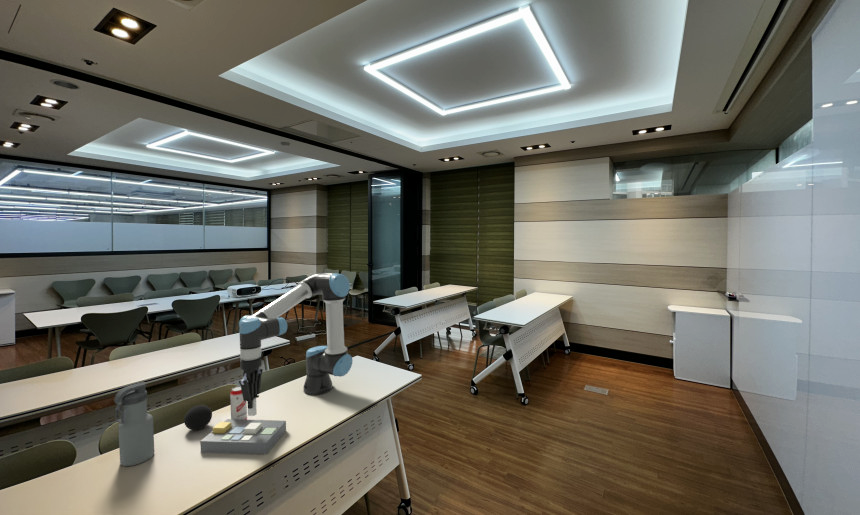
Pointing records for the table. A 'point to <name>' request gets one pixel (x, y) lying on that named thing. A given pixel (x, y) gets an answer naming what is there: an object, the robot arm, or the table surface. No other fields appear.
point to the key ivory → (253, 428)
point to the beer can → (238, 404)
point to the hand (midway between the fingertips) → (252, 414)
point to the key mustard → (222, 427)
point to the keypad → (243, 438)
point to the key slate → (237, 430)
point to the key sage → (268, 431)
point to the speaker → (198, 417)
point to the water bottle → (134, 425)
